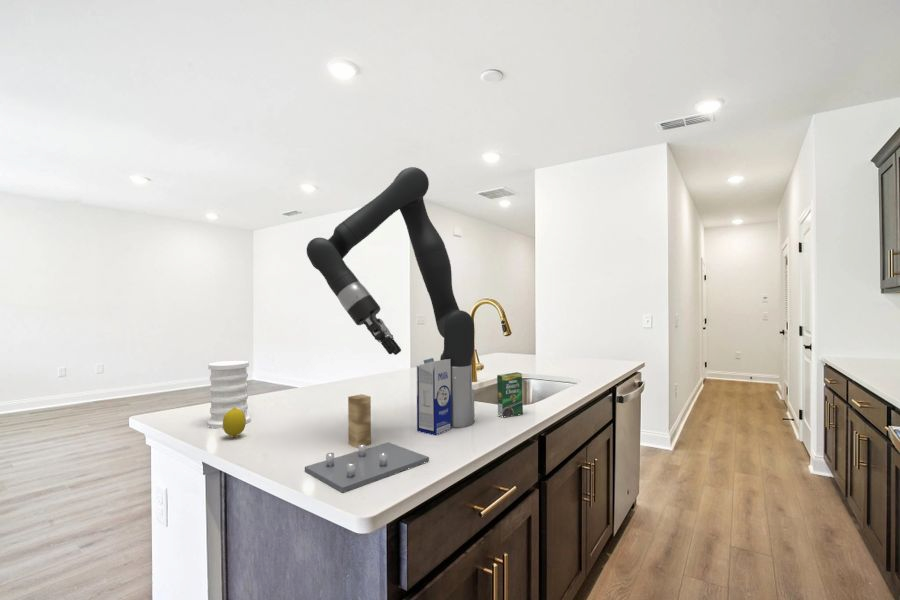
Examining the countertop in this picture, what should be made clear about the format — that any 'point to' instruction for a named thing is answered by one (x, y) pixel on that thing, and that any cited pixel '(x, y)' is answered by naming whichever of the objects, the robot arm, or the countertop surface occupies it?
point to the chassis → (364, 465)
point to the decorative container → (227, 390)
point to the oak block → (359, 420)
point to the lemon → (234, 422)
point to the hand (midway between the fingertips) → (396, 352)
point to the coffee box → (510, 394)
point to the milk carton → (434, 396)
